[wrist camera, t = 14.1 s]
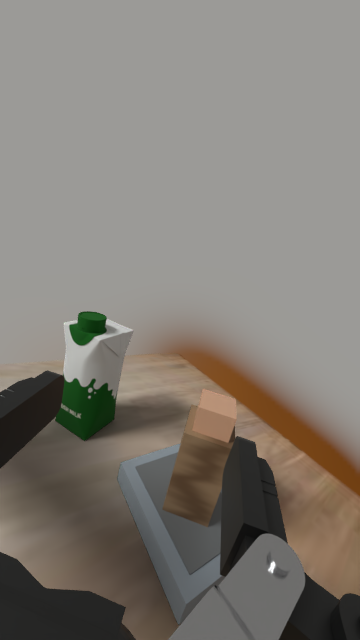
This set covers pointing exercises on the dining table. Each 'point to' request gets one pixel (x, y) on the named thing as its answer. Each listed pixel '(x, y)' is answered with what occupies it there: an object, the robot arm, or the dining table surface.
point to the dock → (172, 532)
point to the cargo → (215, 415)
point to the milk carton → (91, 372)
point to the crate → (197, 474)
